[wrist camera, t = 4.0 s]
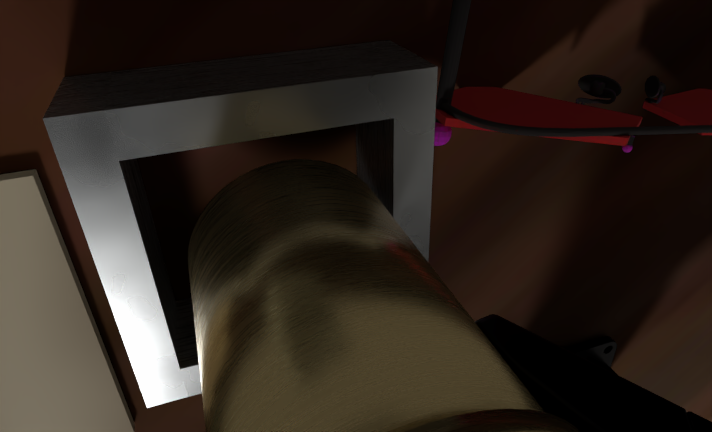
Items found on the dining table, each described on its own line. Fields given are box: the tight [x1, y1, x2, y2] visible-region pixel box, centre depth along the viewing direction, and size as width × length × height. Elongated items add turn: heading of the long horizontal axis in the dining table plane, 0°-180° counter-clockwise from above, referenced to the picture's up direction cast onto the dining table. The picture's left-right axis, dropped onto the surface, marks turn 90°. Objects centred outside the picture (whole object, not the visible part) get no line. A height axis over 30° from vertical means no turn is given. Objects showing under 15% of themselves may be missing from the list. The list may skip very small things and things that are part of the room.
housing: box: [43, 40, 438, 408], centre depth 15 cm, size 8×8×3 cm
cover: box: [188, 159, 580, 432], centre depth 10 cm, size 5×5×8 cm
